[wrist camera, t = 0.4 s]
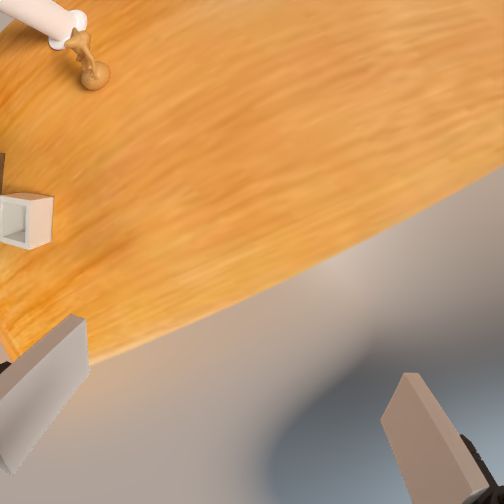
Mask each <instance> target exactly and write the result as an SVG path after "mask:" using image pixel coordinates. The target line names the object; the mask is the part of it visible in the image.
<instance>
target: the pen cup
mask: <svg viewBox="0 0 504 504" xmlns="http://www.w3.org/2000/svg"><path fill="white" fill-rule="evenodd" d="M53 204H54V197H52V196H46V195H40V194H34V193H27V192H20V193H13V194H7V195H0V242H3V243H7V244H10V245H13V246H17V247H20V248H24V249H27V250H31V249H33V248H36V247H38V246H41V245H44V244H46V243H49V242H52V219H53Z"/></svg>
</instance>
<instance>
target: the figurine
mask: <svg viewBox="0 0 504 504" xmlns="http://www.w3.org/2000/svg"><path fill="white" fill-rule="evenodd" d="M90 42H91V36H90V34H89V32H87V31H85V30H82V31H80V32H79V31H78V30H77V28H76V27H74V28H73V29H72V32H71V37H70V39H68V40H66V41H65V43H64V47H65V48H66V49H70V48H72V50H73V51H74V52H75V53H78V55H77V58H76V60H77V61H78V62H81V63H82V67H81V69H82V71H83V72H82V74H81V81H82V84H83V85H84V86H85V87H86V88H87V89H90V90H98V89H100V88H102V87H104V86H105V85H106V84H107V82H108V81H109V78H110V69H109V67H108V66H107V65H106V64H105V63H103V62H100V61H96V62H95V59H94V57H93V55H92V53H91V51H90Z"/></svg>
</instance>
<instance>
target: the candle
mask: <svg viewBox="0 0 504 504" xmlns="http://www.w3.org/2000/svg"><path fill="white" fill-rule="evenodd" d="M0 11H1V12H3V13H5V14H7V15H9V16H11V17H13V18H15V19H17V20H19V21H21V22H23V23H25V24H26V25H28V26H30V27H32V28H34V29H36V30H38V31H40V32H42V33H44V34H45V35H47V36H49V37H48V41H49V45H50V46H51V47H52V48H53V49H55V50H64V49H66V48H65V47H64V43H65V41H66V40H68V39H70V37H71V32H72V29H73V28H74V27H76V28H77V30H78V31H79V32H80V31H82V30H85V29H86V26H87V16H86V15H85V13H84V12H82V11H80V10H72V11H69V12H68V11H66V10H65V9H64V8H62V7H61V6H59V5H58V4H57V3H55V2H54V1H52V0H0Z"/></svg>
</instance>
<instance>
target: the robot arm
mask: <svg viewBox="0 0 504 504" xmlns="http://www.w3.org/2000/svg"><path fill="white" fill-rule="evenodd" d="M89 373H90V366H89V356H88V345H87V331H86V319H85V318H81V317H78V316H75V315H72V314H70V315H69V316H68V317H67V318H65V319H64V320H63V321H62V322H60V323H59V324H58V325H57V326H56V327H54V328H53V329H52V330H51V331H50V332H48V333H47V334H46V335H45V336H44V337H42V338H41V339H40V340H39V341H38V342H37V343H35V344H34V345H33V346H32V347H31V348H29V349H28V350H27V351H26V352H25V353H24V354H23V355H21V356H20V357H19V358H18V359H17V360H16V361H15V362H13V363H9V362H5V363H2V364H0V468H1V469H3V470H4V471H6V472H7V473H9V474H11V475H12V476H13V475H14V474H15V472H16V471H17V470H18V468H19V467H20V465H21V464H22V462H23V461H24V459H25V458H26V457H27V455H28V454H29V453H30V451H31V450H32V448H33V447H34V445H35V444H36V443H37V441H38V440H39V439H40V437H41V436H42V435H43V433H44V432H45V430H46V429H47V428H48V427H49V425H50V424H51V423H52V421H53V420H54V419H55V417H56V416H57V415H58V413H59V412H60V411H61V409H62V408H63V407H64V405H65V404H66V403H67V401H68V400H69V399H70V397H71V396H72V395H73V394H74V392H75V391H76V390H77V389H78V387H79V386H80V385H81V383H82V382H83V381H84V380H85V378H86V377H87V376H88V374H89ZM380 421H381V424H382V426H383V429H384V431H385V434H386V436H387V438H388V441H389V443H390V445H391V448H392V451H393V453H394V456H395V458H396V461H397V463H398V466H399V469H400V471H401V474H402V476H403V479H404V481H405V484H406V487H407V489H408V492H409V495H410V497H411V500H412V503H413V504H504V486H498V485H497V483H496V482H495V480H494V478H493V477H492V475H491V473H490V472H489V470H488V468H487V467H486V465H485V463H484V462H483V460H481V457H480V455H479V454H478V453H477V450H476V449H475V447H474V446H473V444H472V443H471V441H469V440H468V439H467V438H466V437H465V436H464V435H462V434H461V435H459V434H458V433H457V431H456V429H455V428H454V426H453V425H452V423H451V422H450V420H449V419H448V417H447V415H446V414H445V412H444V411H443V409H442V408H441V406H440V405H439V403H438V402H437V400H436V399H435V397H434V396H433V394H432V393H431V391H430V390H429V388H428V387H427V385H426V384H425V382H424V381H423V380H422V378H421V377H420V375H419V374H418V373H404V374H403V376H402V378H401V380H400V382H399V384H398V386H397V388H396V390H395V393H394V394H393V396H392V398H391V400H390V402H389V404H388V406H387V408H386V410H385V412H384V414H383V416H382V418H381V420H380Z"/></svg>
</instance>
